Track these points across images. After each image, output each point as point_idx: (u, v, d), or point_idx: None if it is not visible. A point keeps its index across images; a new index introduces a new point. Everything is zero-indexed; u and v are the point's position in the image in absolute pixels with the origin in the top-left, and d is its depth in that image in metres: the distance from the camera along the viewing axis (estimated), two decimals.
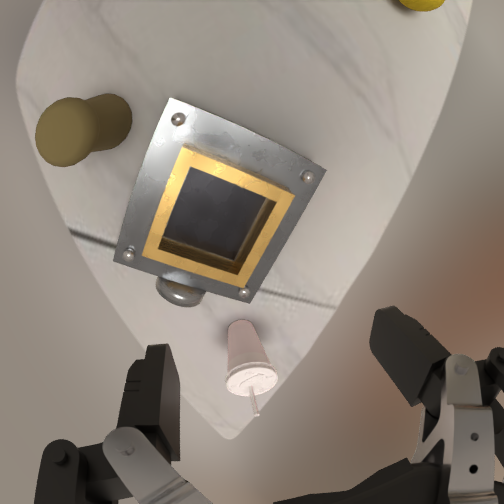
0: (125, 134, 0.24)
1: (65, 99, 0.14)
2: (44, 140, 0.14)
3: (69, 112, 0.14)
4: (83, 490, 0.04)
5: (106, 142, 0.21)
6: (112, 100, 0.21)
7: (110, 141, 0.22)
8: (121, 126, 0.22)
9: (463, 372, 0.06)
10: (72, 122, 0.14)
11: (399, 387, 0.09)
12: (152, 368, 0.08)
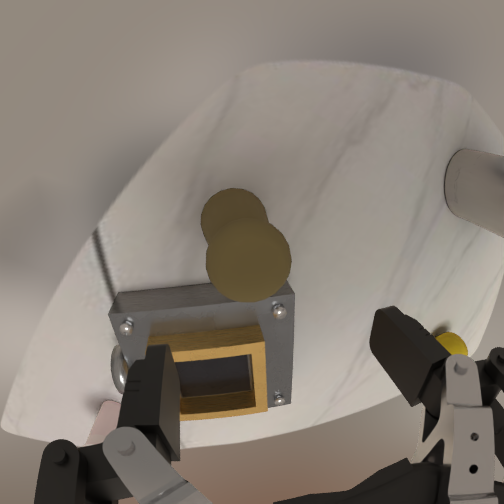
0: None
1: (289, 251, 0.17)
2: (240, 259, 0.15)
3: (281, 274, 0.16)
4: (83, 490, 0.04)
5: None
6: None
7: None
8: None
9: (463, 372, 0.06)
10: (272, 284, 0.16)
11: (399, 387, 0.09)
12: (152, 368, 0.08)
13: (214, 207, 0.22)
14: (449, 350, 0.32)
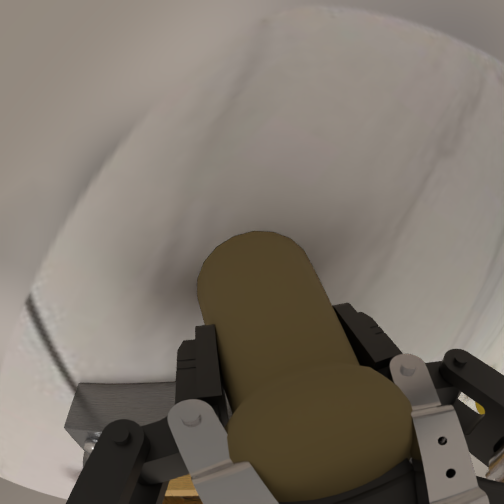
0: None
1: None
2: None
3: None
4: (138, 473, 0.05)
5: None
6: None
7: None
8: None
9: (408, 373, 0.07)
10: None
11: None
12: (205, 346, 0.09)
13: (224, 282, 0.11)
14: None
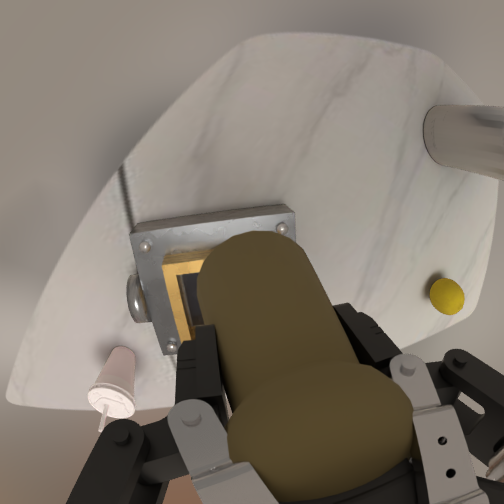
0: None
1: None
2: None
3: None
4: (137, 473, 0.05)
5: None
6: None
7: None
8: None
9: (408, 373, 0.07)
10: None
11: None
12: (205, 346, 0.09)
13: (224, 281, 0.11)
14: (446, 292, 0.36)
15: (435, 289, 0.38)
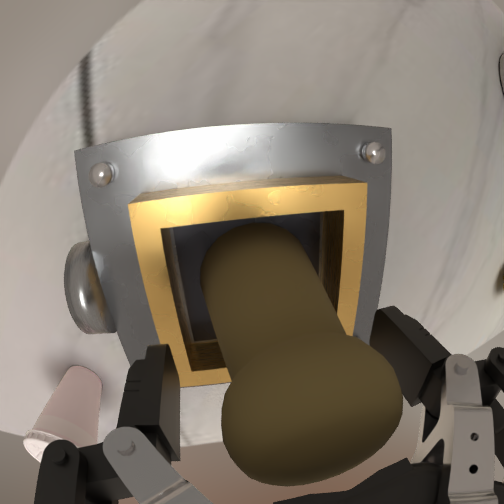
0: None
1: (401, 397, 0.06)
2: (313, 455, 0.05)
3: (383, 444, 0.06)
4: (83, 490, 0.04)
5: None
6: None
7: None
8: None
9: (463, 372, 0.06)
10: (362, 461, 0.06)
11: None
12: (152, 368, 0.08)
13: (225, 267, 0.12)
14: None
15: None
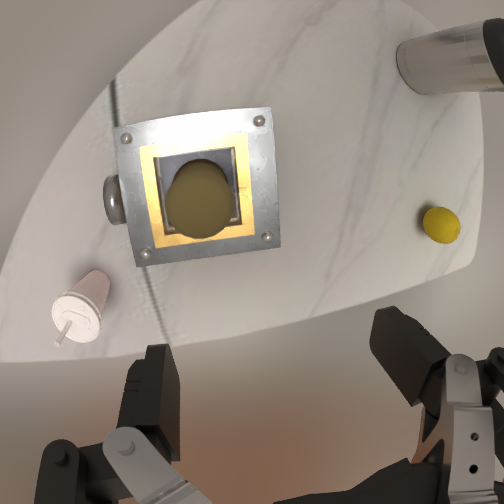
0: None
1: (231, 193, 0.20)
2: (188, 197, 0.19)
3: (224, 210, 0.20)
4: (83, 490, 0.04)
5: None
6: None
7: None
8: None
9: (463, 372, 0.06)
10: (216, 219, 0.20)
11: (399, 387, 0.09)
12: (152, 368, 0.08)
13: (180, 172, 0.26)
14: (439, 216, 0.35)
15: (428, 216, 0.37)
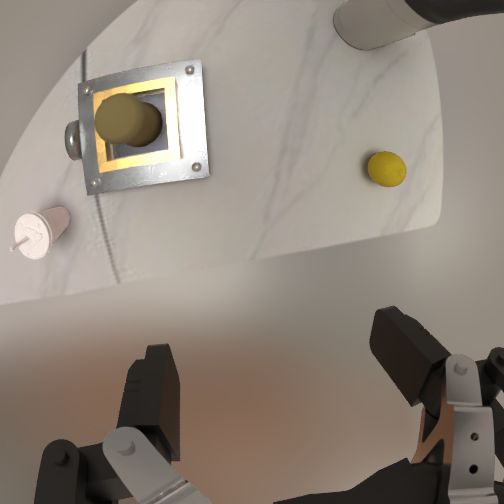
0: (137, 146, 0.32)
1: (141, 106, 0.22)
2: (108, 109, 0.21)
3: (132, 117, 0.22)
4: (83, 490, 0.04)
5: None
6: (156, 125, 0.30)
7: (127, 143, 0.29)
8: (140, 143, 0.30)
9: (463, 372, 0.06)
10: (127, 124, 0.22)
11: (399, 387, 0.09)
12: (152, 368, 0.08)
13: None
14: (381, 158, 0.37)
15: (370, 160, 0.39)
